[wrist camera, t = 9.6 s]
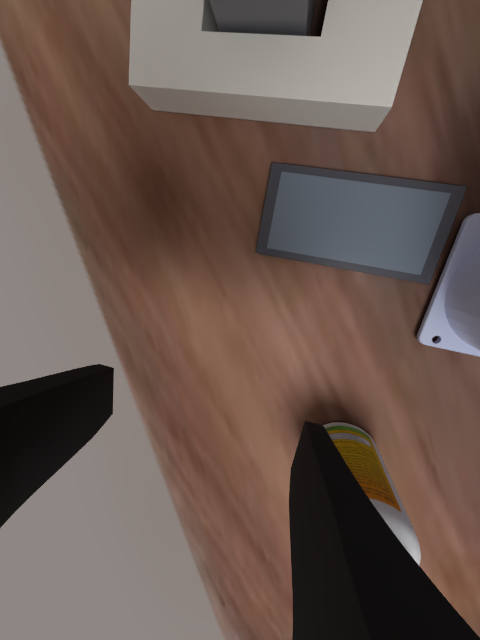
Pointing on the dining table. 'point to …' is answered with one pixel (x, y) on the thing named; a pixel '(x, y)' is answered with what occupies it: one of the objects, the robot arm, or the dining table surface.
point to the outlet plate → (272, 64)
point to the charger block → (264, 16)
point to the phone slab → (357, 221)
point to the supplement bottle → (374, 480)
